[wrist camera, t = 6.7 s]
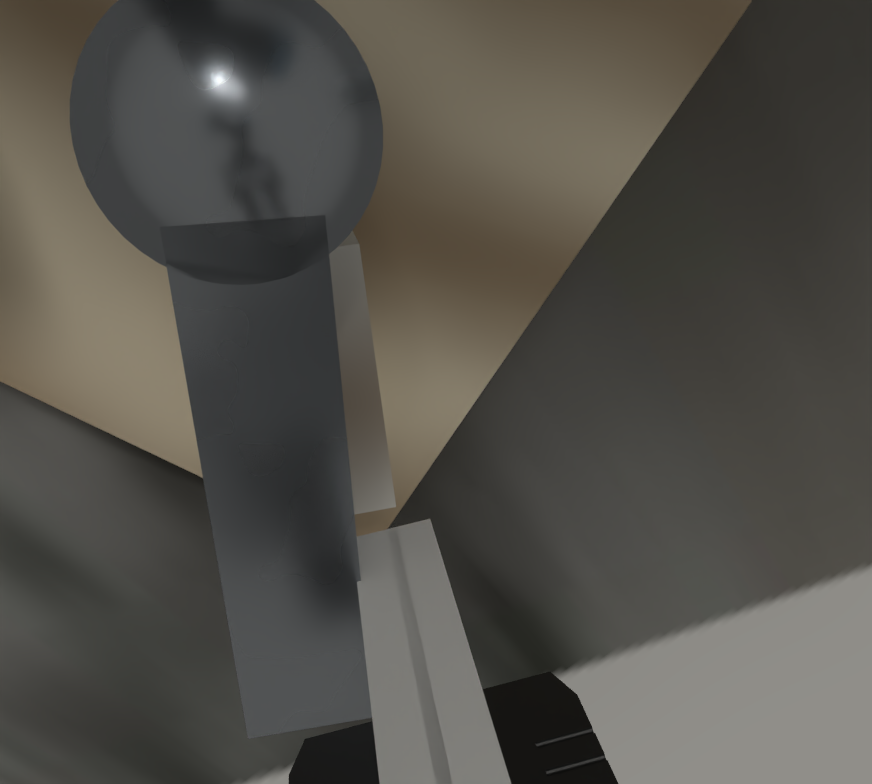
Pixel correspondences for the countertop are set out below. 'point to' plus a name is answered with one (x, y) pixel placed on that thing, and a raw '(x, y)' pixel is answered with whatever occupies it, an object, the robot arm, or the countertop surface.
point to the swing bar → (251, 302)
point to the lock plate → (378, 227)
